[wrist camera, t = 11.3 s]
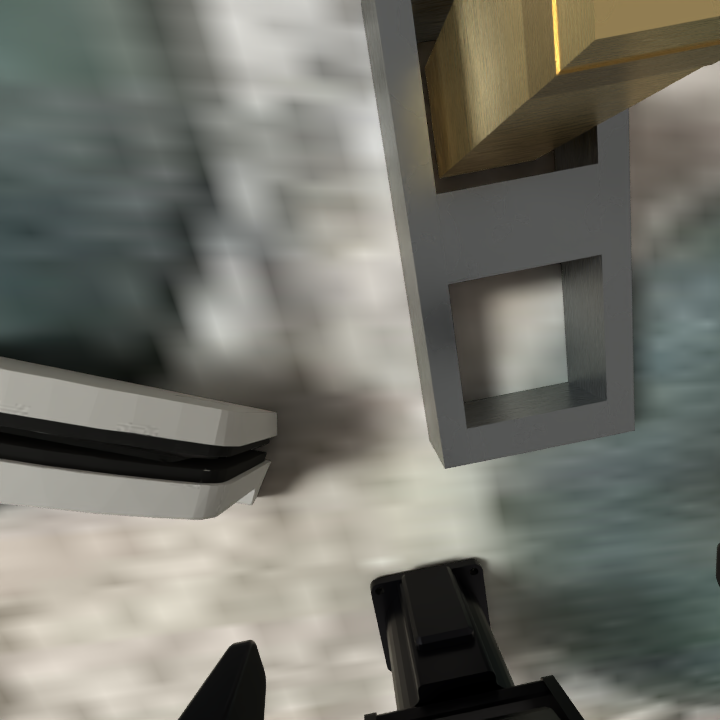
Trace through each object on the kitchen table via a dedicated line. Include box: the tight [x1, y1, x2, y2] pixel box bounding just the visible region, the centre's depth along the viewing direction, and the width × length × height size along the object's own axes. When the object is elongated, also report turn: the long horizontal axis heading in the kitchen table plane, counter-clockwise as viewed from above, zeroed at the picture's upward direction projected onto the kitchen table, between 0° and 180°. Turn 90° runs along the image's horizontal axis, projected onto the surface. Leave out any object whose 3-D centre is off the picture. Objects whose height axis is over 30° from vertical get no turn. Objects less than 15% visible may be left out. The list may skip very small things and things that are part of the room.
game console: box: [0, 356, 277, 520], centre depth 15 cm, size 17×5×10 cm, turn 76°
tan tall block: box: [425, 0, 720, 179], centre depth 12 cm, size 5×5×11 cm
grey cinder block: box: [361, 0, 635, 469], centre depth 17 cm, size 20×9×3 cm, turn 11°
